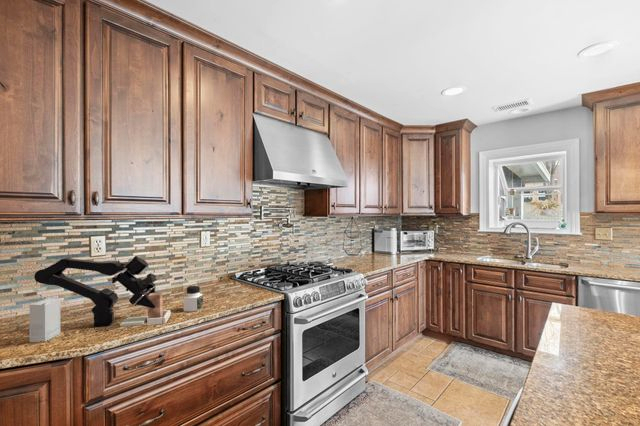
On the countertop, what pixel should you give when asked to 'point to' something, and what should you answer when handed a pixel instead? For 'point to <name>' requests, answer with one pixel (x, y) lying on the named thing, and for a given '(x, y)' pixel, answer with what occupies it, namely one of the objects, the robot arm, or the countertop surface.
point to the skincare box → (44, 320)
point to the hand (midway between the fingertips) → (157, 304)
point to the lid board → (134, 321)
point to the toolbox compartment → (159, 320)
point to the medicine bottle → (193, 299)
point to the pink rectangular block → (157, 301)
